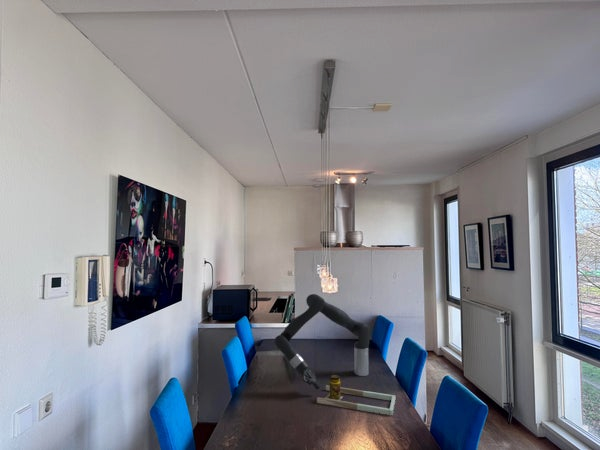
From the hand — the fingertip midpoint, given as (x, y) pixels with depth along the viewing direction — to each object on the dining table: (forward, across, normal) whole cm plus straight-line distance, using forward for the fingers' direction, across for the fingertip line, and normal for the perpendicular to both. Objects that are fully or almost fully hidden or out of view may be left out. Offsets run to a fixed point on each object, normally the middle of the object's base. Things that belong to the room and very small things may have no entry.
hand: (318, 388), depth 193 cm
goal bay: (+25, 0, -20) cm, 32 cm away
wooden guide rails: (+12, 0, -6) cm, 13 cm away
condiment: (+9, 0, -3) cm, 10 cm away
